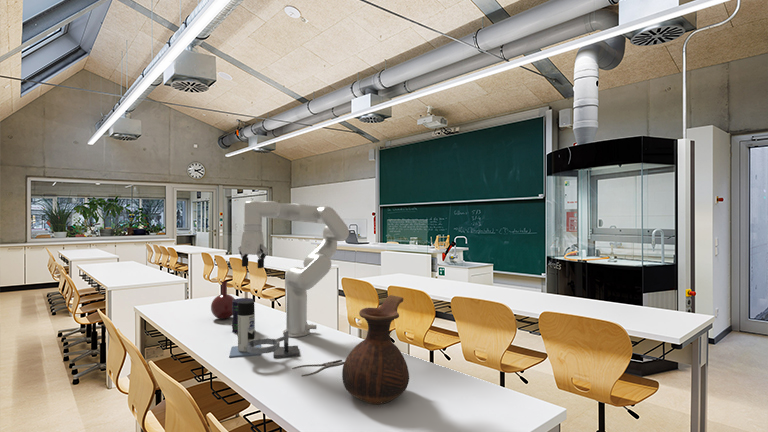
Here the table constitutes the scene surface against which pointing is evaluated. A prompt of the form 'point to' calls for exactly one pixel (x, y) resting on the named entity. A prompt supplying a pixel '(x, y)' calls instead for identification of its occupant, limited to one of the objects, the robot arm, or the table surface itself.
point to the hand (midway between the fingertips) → (252, 267)
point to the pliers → (322, 365)
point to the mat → (236, 353)
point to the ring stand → (274, 347)
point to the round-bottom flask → (222, 304)
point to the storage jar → (235, 313)
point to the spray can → (245, 324)
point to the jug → (377, 358)
